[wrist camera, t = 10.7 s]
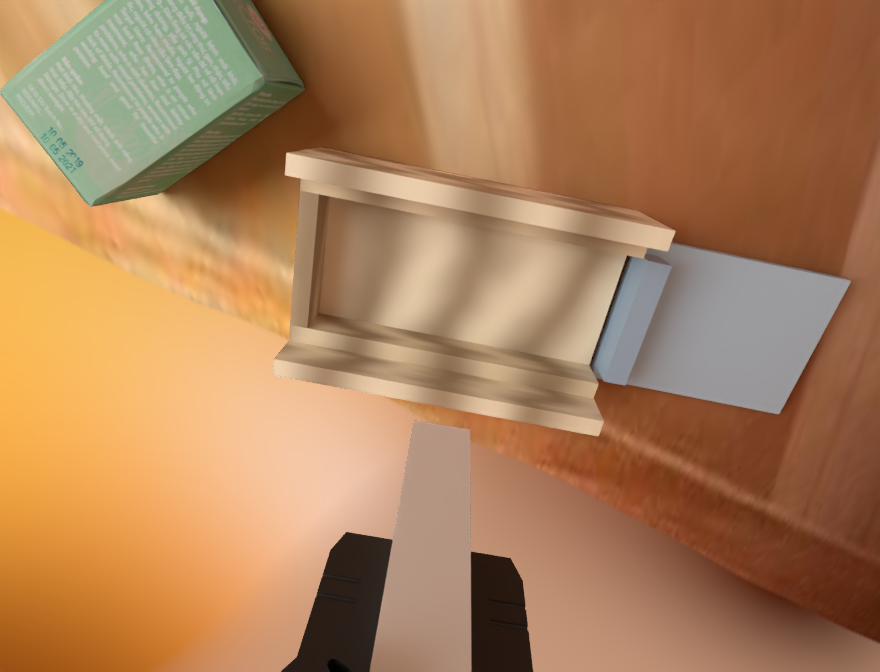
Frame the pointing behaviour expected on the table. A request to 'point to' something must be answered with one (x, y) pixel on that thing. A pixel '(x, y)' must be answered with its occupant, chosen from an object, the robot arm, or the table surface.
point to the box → (150, 92)
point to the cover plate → (715, 326)
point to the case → (454, 288)
